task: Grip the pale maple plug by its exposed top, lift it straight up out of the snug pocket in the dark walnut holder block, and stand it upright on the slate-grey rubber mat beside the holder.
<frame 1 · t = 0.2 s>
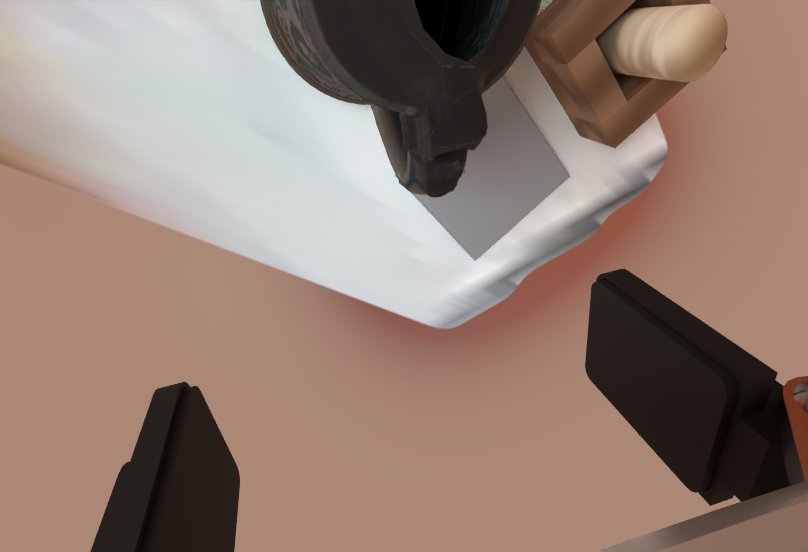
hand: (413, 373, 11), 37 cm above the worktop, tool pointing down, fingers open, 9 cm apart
slate mat: (484, 174, 49), on the worktop
beer stein: (371, 14, 40), on the worktop
maple plug: (643, 42, 40), in the walnut holder
walnut holder: (602, 41, 46), on the worktop
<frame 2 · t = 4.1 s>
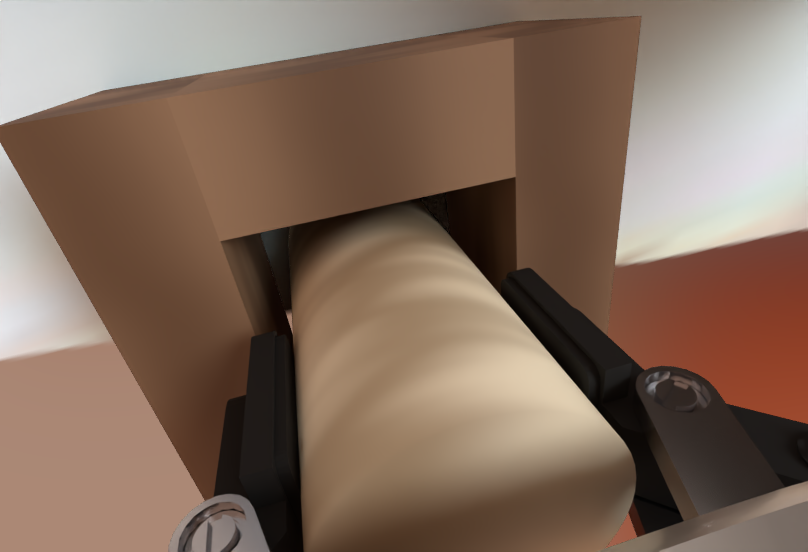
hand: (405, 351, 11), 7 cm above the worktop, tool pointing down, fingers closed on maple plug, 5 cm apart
maple plug: (396, 329, 12), in the walnut holder, touching gripper
walnut holder: (361, 241, 17), on the worktop
when the fingers open (9 cm above the worktop, at t = 12.4 s): maple plug drops 1 cm, resting on slate mat.
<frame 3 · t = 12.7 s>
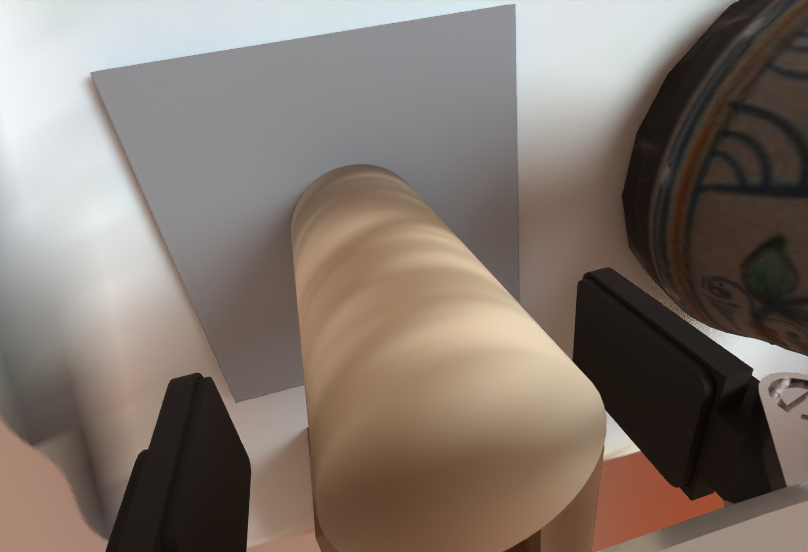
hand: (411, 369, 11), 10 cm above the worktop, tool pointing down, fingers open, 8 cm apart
slate mat: (353, 223, 19), on the worktop
beer stein: (734, 156, 22), on the worktop
maple plug: (393, 306, 13), on the slate mat, point 7 cm above the worktop
walnut holder: (439, 471, 28), on the worktop
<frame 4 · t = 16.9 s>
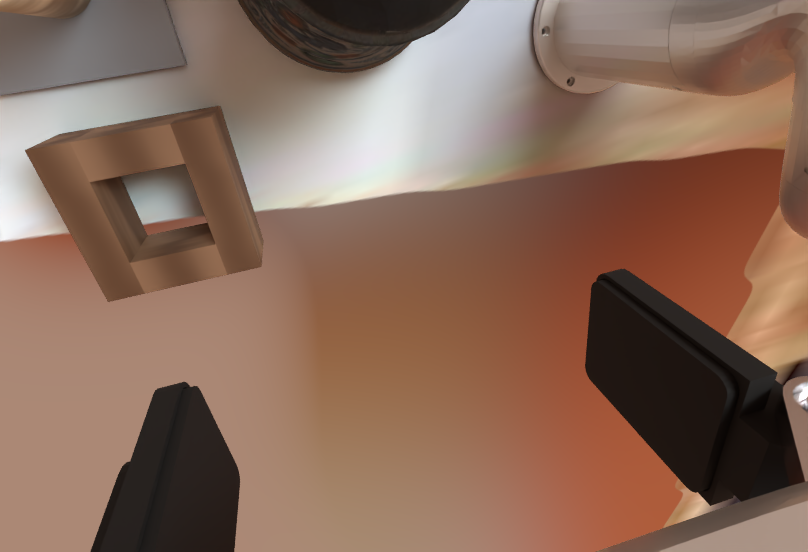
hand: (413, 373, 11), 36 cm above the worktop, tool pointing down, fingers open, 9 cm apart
walnut holder: (171, 192, 42), on the worktop
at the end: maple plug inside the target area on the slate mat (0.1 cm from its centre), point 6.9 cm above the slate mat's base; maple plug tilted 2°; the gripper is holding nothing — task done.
